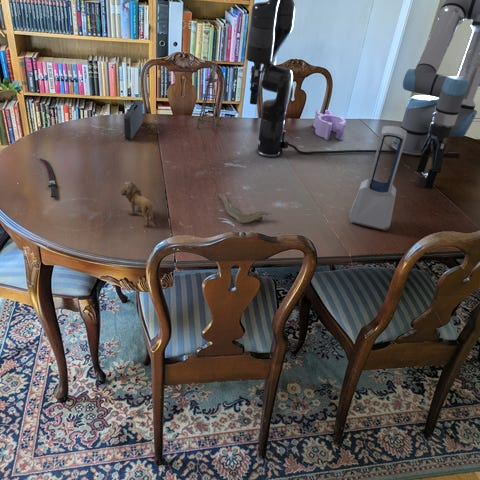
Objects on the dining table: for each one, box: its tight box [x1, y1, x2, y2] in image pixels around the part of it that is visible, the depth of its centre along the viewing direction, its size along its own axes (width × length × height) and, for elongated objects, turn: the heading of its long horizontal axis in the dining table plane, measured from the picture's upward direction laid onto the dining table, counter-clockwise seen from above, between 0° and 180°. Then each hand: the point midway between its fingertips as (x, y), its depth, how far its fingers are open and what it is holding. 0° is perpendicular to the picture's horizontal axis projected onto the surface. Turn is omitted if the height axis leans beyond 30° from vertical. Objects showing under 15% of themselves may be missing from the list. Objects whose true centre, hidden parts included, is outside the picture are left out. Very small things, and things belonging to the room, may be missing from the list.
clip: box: [313, 109, 347, 141], centre depth 212 cm, size 20×12×7 cm, turn 11°
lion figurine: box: [119, 181, 159, 227], centre depth 134 cm, size 15×5×9 cm, turn 50°
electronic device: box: [348, 125, 407, 232], centre depth 137 cm, size 12×8×30 cm, turn 71°
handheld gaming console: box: [123, 99, 144, 141], centre depth 190 cm, size 23×3×10 cm, turn 178°
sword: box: [40, 158, 59, 198], centre depth 151 cm, size 31×3×1 cm, turn 26°
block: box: [414, 172, 429, 189], centre depth 173 cm, size 4×4×4 cm
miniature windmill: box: [196, 55, 220, 132], centre depth 197 cm, size 9×8×30 cm
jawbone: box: [218, 193, 271, 225], centre depth 143 cm, size 9×20×2 cm, turn 50°
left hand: (254, 100), depth 143 cm, fingers open, 8 cm apart
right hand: (423, 179), depth 173 cm, fingers open, 13 cm apart
